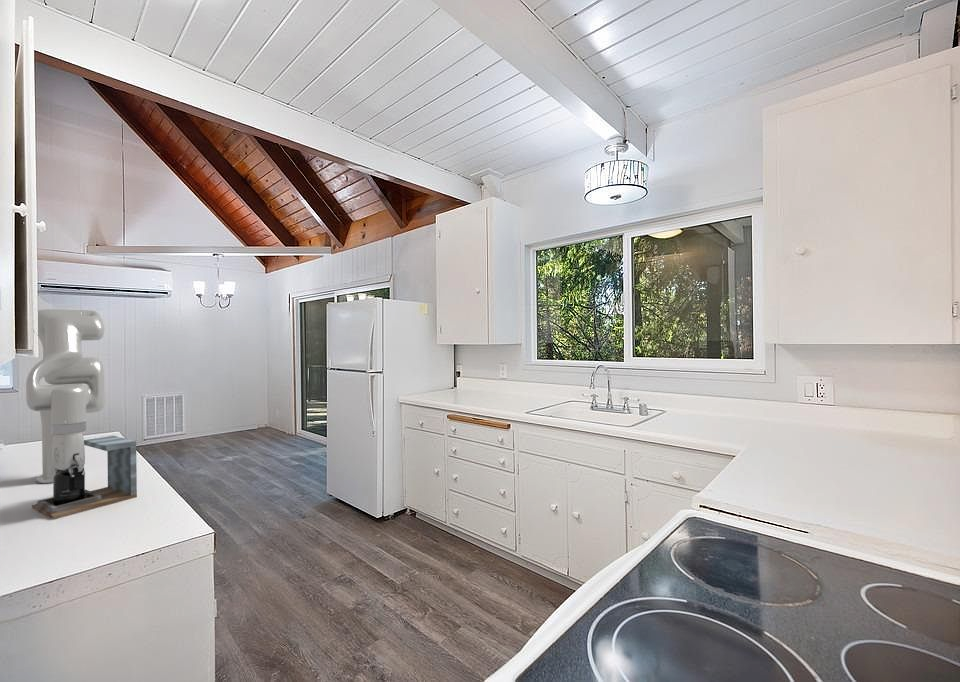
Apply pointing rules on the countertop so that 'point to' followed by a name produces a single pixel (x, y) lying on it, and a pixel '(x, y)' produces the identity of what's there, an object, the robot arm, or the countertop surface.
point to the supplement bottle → (65, 489)
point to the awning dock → (119, 479)
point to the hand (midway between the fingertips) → (69, 487)
